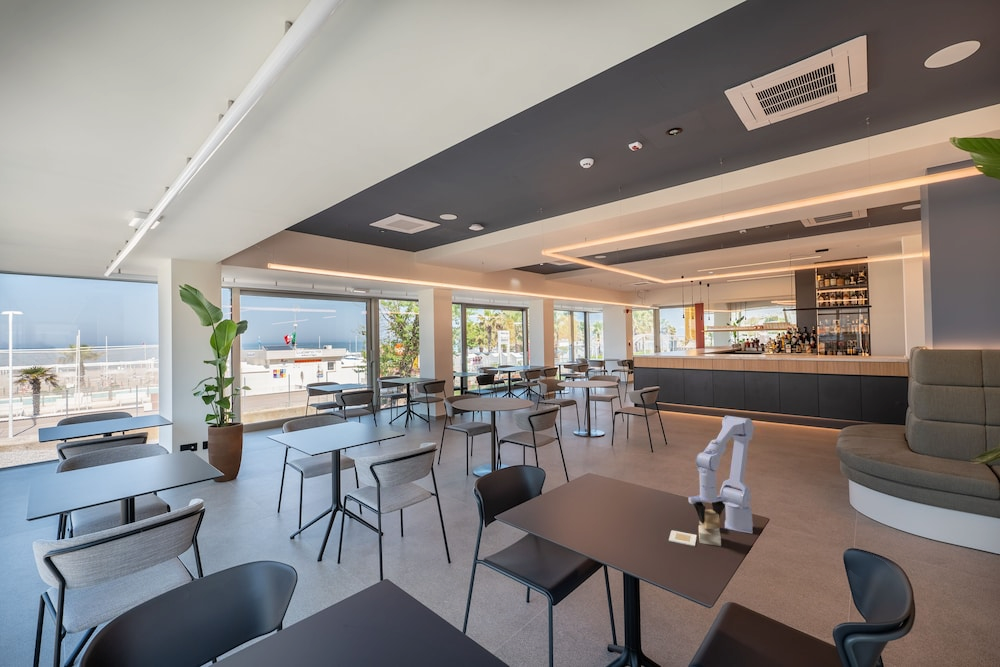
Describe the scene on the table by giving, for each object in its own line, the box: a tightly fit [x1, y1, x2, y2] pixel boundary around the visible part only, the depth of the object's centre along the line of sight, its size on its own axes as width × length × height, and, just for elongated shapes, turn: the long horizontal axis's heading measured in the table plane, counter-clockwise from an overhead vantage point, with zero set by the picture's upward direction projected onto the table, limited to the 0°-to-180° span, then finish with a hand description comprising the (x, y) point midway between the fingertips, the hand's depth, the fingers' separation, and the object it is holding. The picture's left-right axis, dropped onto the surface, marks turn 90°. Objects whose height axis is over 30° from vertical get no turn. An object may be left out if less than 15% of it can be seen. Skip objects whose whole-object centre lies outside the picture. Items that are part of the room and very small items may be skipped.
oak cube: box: [698, 508, 721, 529], centre depth 155 cm, size 5×5×5 cm
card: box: [668, 530, 697, 547], centre depth 156 cm, size 9×9×1 cm
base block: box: [698, 524, 722, 547], centre depth 155 cm, size 7×7×4 cm
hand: (709, 521), depth 155 cm, fingers closed on oak cube, 5 cm apart
